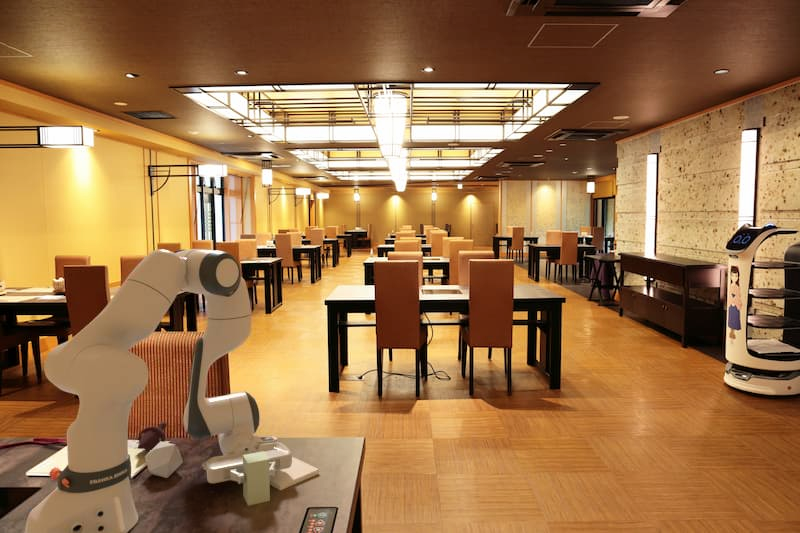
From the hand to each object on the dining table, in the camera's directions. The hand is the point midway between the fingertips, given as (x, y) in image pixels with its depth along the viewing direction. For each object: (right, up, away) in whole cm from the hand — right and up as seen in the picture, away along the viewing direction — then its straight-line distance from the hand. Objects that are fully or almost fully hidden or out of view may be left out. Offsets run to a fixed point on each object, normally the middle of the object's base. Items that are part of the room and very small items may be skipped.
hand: (256, 477), depth 126 cm
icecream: (-37, -3, +28) cm, 46 cm away
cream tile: (+4, -5, +13) cm, 15 cm away
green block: (0, -5, +1) cm, 6 cm away
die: (-27, -5, +13) cm, 31 cm away
